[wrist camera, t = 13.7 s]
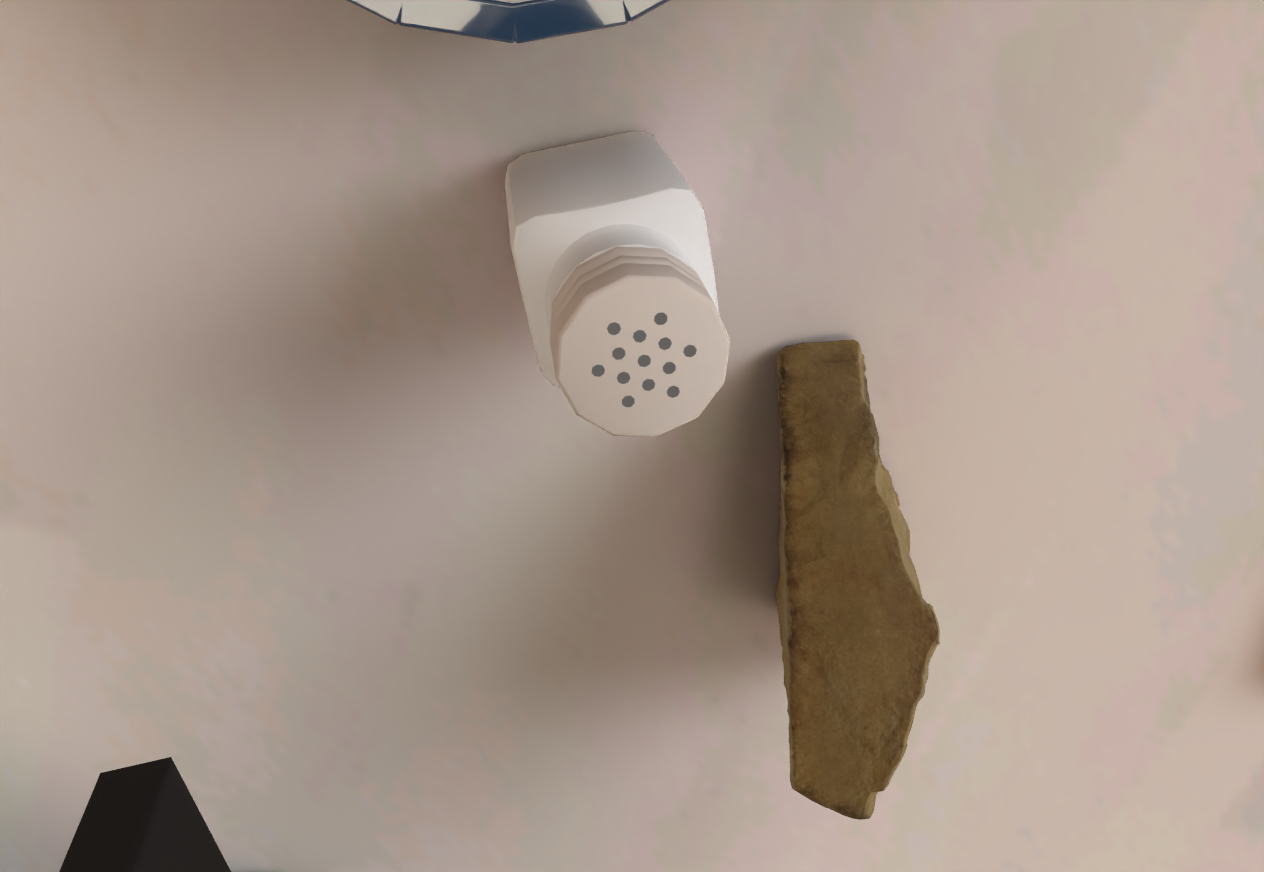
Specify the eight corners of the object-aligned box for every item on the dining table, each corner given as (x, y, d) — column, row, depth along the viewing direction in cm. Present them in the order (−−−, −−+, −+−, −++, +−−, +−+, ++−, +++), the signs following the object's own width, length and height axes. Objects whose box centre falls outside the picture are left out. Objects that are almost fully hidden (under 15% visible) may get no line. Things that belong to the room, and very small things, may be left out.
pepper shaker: (655, 121, 26) (740, 230, 17) (678, 270, 28) (765, 433, 19) (498, 153, 26) (509, 279, 17) (533, 301, 28) (557, 478, 19)
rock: (716, 307, 26) (594, 645, 29) (1032, 454, 21) (848, 845, 24) (902, 335, 34) (794, 594, 37) (1159, 445, 29) (1012, 734, 32)
